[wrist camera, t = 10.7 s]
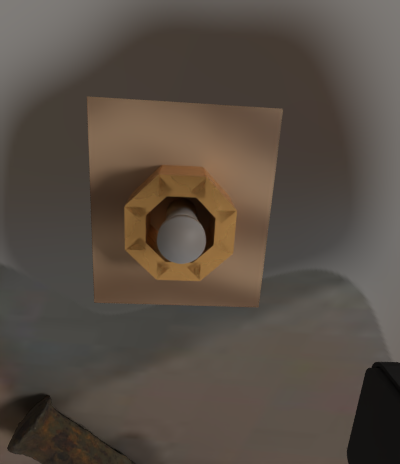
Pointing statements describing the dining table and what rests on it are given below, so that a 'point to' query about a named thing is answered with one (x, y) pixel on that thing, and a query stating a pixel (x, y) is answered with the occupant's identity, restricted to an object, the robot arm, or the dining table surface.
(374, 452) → the robot arm
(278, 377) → the dining table surface
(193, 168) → the octagonal wooden ring
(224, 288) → the keeper board
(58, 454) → the wooden log
